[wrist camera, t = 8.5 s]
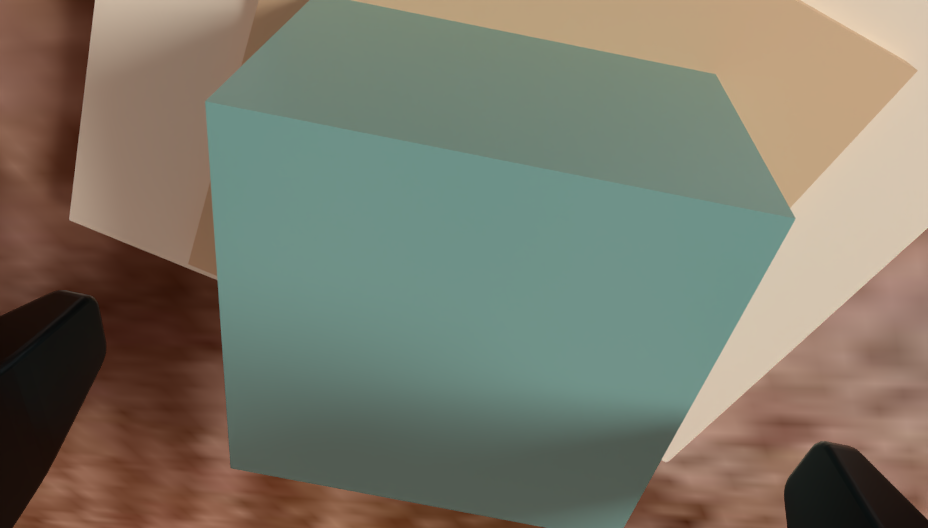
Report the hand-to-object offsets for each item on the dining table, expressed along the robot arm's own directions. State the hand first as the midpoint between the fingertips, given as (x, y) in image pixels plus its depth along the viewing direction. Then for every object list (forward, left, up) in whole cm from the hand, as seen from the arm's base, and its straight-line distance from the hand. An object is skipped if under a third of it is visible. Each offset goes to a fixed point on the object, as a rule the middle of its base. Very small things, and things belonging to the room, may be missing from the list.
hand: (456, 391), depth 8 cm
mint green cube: (0, 0, -4) cm, 4 cm away
